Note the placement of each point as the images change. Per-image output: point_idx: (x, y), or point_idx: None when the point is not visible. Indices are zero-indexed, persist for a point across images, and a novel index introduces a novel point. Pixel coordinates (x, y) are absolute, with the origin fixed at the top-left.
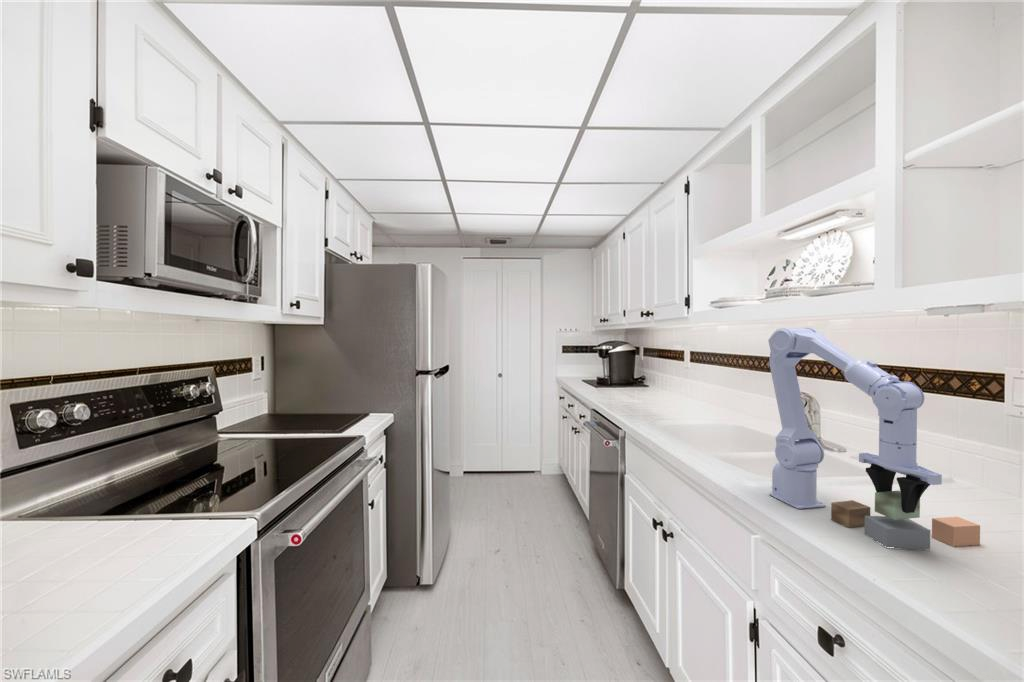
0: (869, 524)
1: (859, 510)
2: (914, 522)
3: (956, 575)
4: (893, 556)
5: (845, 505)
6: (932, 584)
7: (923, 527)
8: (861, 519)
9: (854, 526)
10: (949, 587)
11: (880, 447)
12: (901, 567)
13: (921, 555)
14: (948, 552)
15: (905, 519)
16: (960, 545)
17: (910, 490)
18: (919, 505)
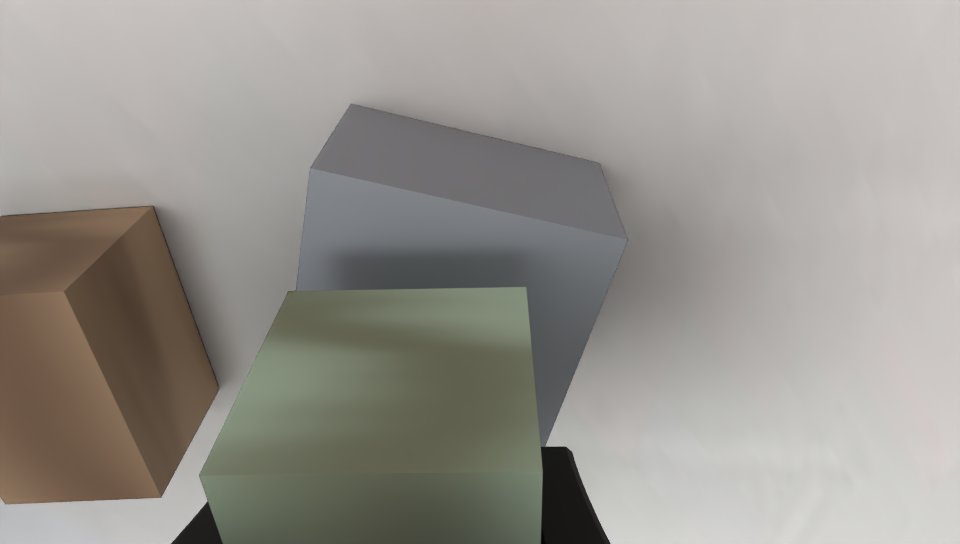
0: None
1: (126, 392)
2: (450, 214)
3: (874, 335)
4: (600, 448)
5: (57, 456)
6: (857, 509)
7: (564, 243)
8: (157, 318)
9: (201, 347)
10: (911, 469)
11: None
12: (699, 502)
13: (639, 297)
14: (669, 55)
15: (373, 230)
16: None
17: None
18: (531, 385)
